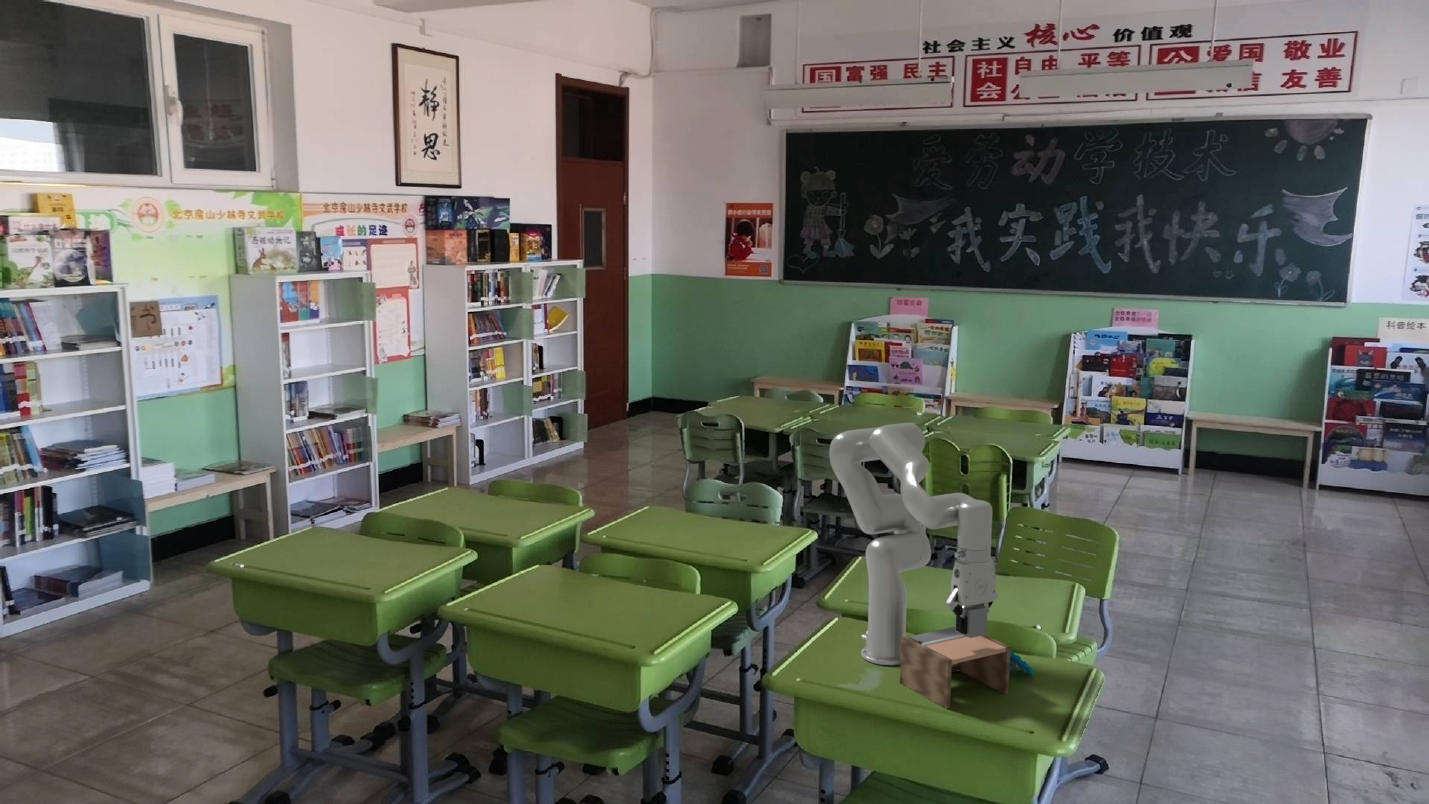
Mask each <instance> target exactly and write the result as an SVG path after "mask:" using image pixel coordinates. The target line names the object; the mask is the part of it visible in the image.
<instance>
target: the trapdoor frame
mask: <svg viewBox="0 0 1429 804" xmlns="http://www.w3.org/2000/svg"><path fill="white" fill-rule="evenodd" d="M982 637H984V638H986V639H989V640H991V641H993V642H995V643H997V644H999V645H1002V646H1004V647H1006V652H1002V653H998V654H994V655H990V656H985V657H981V658H977V659H973V660H968V661H964V662H960V663H956V664H952V660H950V659H948V658H946V657H944V656H942V655H940V654H938V653H936V652H934V651H932V650H931V649H929V648H927V647H925V646H923V645H921V644H919V643H917V642H915V641H913V640H911V639H909V637H907V636H906V637H901V664H900V667H899V669H900V671H899V672H900V673H899V683H900V684H901V685H902V686H904V685H905V686H904V687H906V688H908V687H909V688H908V689H910V688H911V689H912V690H911V689H910V690H911V691H913V690H914V692H915V691H916V692H915V693H917V694H918V693H920V694H922V695H923V696H922V695H921V696H922V697H924V696H926V697H927V698H929V699H931V700H932V701H931V700H930V701H931V702H933V701H934V702H936V703H937V704H936V703H935V704H936V705H938V706H940V705H941V706H942V708H943V707H944V709H945V708H946V709H945V710H949V709H948V708H950V709H951V690H952V673H956V672H955V671H957V670H961V671H963V672H964V673H963V672H962V673H963V674H965V673H967V674H968V675H967V674H966V675H967V676H969V677H971V676H972V677H971V678H973V679H975V680H977V681H979V682H981V683H983V684H984V685H986V684H987V686H988V687H990V688H992V689H994V690H996V691H998V692H1001V693H1002V694H1004V695H1007V694H1009V689H1010V672H1011V671H1010V650H1011V647H1012V645H1008V644H1007V643H1004V642H1002V641H999V640H997V639H995V638H993V637H991V636H989V635H987V634H986V635H982ZM961 671H960V672H961ZM957 672H958V671H957ZM920 694H919V695H920ZM926 697H925V698H926ZM927 698H926V699H927ZM929 699H928V700H929ZM934 702H933V703H934ZM941 706H940V707H941Z"/></svg>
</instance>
